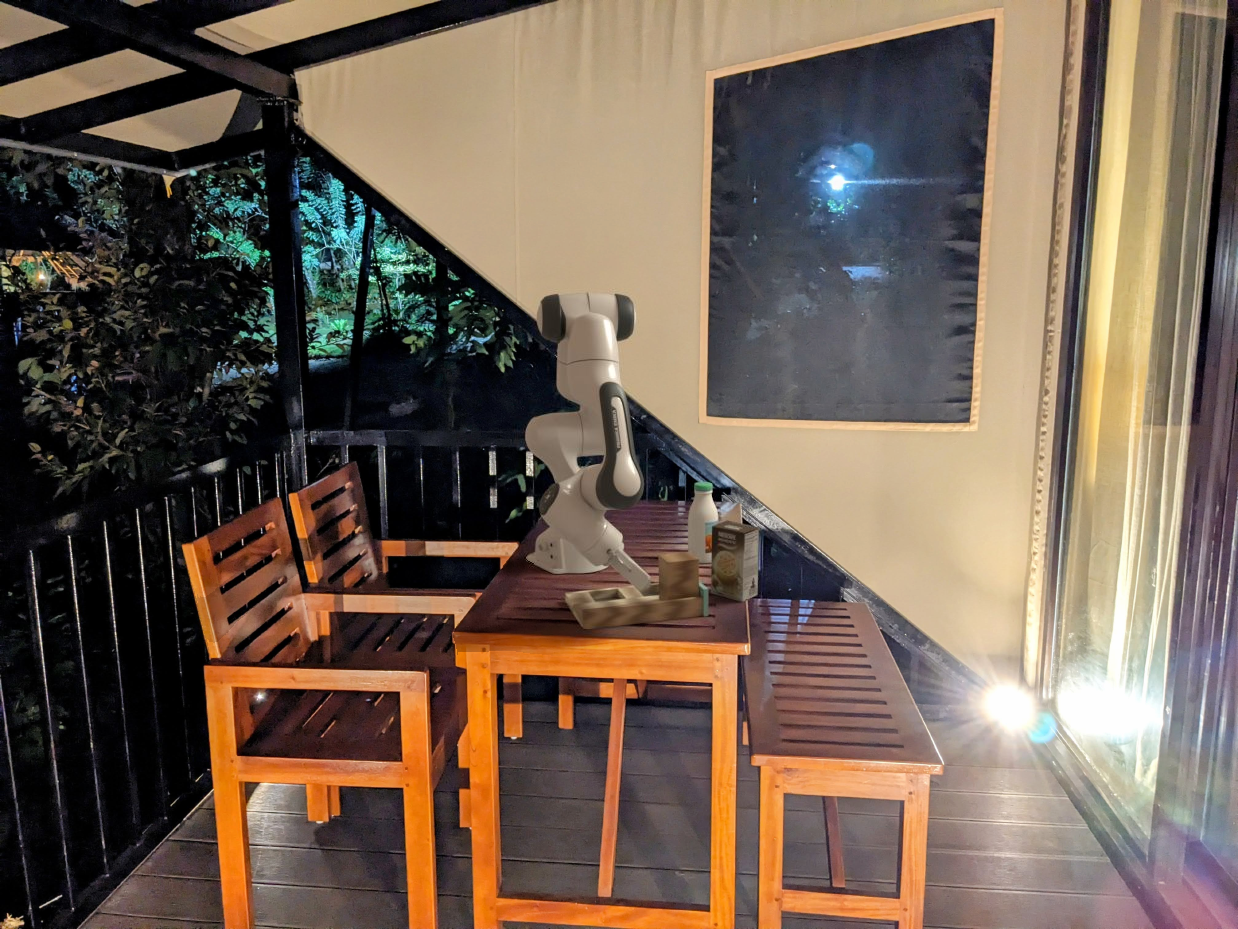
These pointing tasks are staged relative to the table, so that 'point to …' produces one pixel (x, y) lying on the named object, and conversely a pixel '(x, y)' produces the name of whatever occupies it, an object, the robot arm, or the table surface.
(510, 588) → the table surface
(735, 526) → the coffee box
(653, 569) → the table surface
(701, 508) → the milk bottle
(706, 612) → the end stop
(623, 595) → the board
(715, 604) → the table surface
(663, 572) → the walnut block
